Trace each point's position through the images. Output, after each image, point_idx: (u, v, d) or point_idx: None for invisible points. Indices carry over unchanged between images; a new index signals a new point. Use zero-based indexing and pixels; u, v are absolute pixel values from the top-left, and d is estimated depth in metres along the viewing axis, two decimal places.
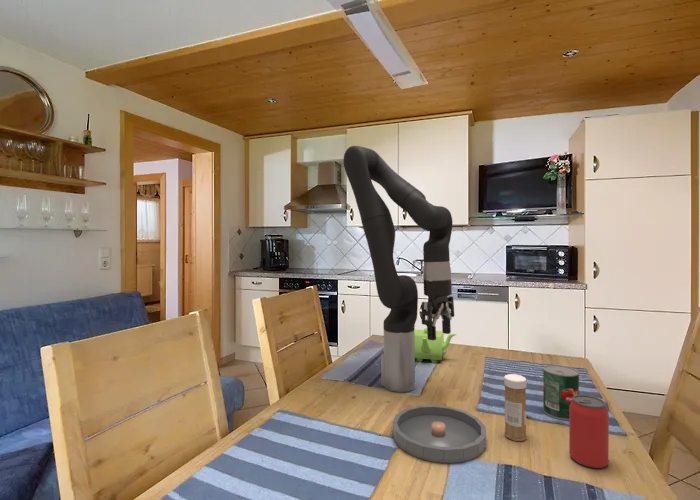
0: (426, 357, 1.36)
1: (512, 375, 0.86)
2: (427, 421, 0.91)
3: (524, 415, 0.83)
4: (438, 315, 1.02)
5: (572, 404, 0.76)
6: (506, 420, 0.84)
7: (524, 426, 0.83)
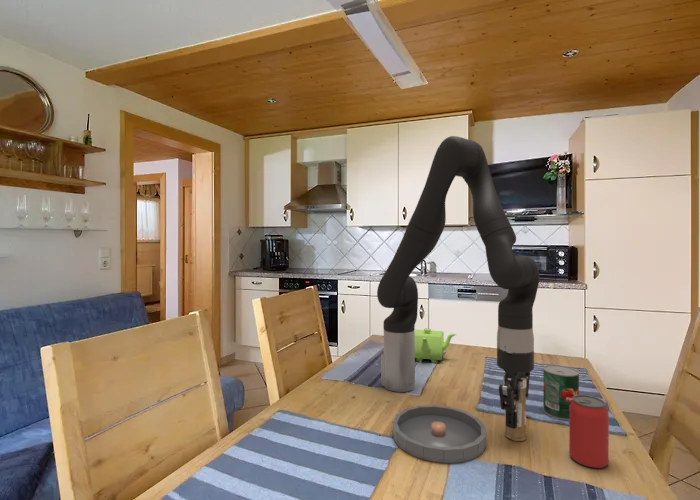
0: (426, 357, 1.36)
1: None
2: (427, 421, 0.91)
3: (524, 415, 0.83)
4: (519, 397, 0.82)
5: (572, 404, 0.76)
6: None
7: (524, 426, 0.83)
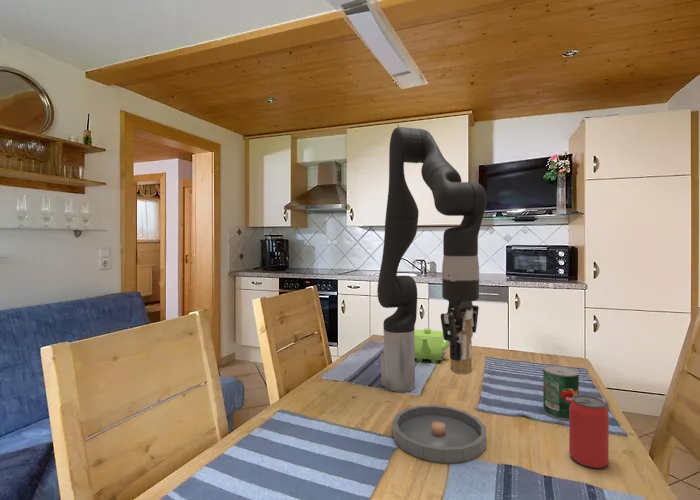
0: (426, 357, 1.36)
1: None
2: (427, 421, 0.91)
3: (469, 347, 0.79)
4: (463, 328, 0.78)
5: (572, 404, 0.76)
6: None
7: (469, 359, 0.80)
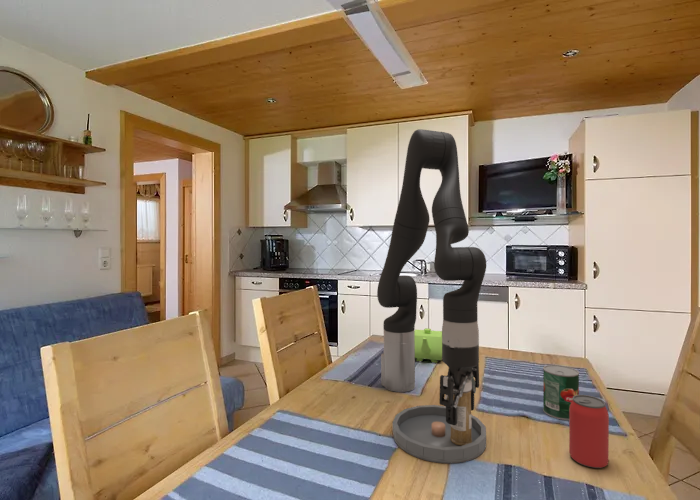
0: (426, 357, 1.36)
1: None
2: (427, 421, 0.91)
3: (469, 419, 0.80)
4: (461, 392, 0.78)
5: (572, 404, 0.76)
6: None
7: (469, 430, 0.80)
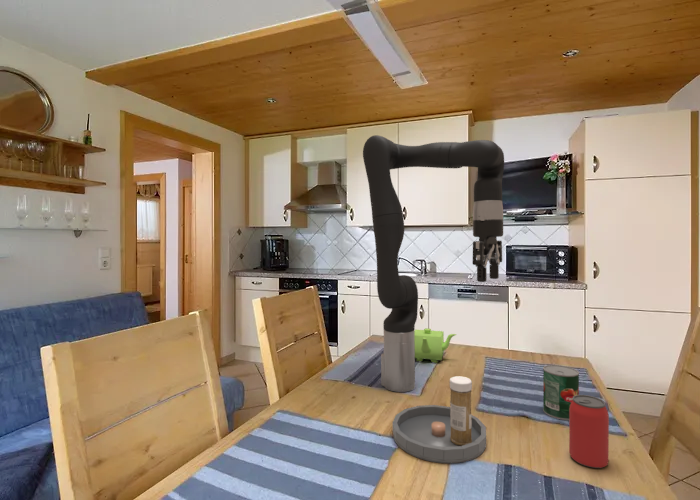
0: (426, 357, 1.36)
1: (458, 377, 0.83)
2: (427, 421, 0.91)
3: (469, 419, 0.80)
4: (489, 256, 0.97)
5: (572, 404, 0.76)
6: (451, 424, 0.81)
7: (469, 430, 0.80)
